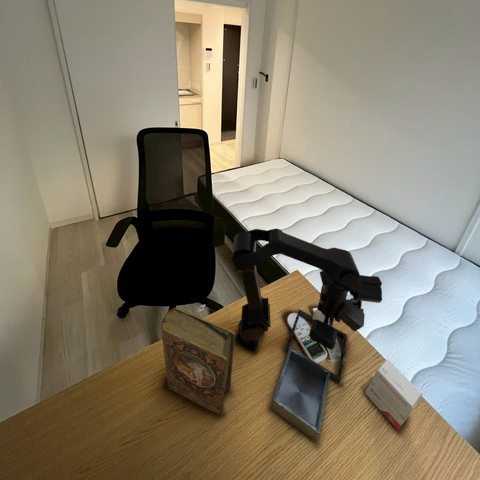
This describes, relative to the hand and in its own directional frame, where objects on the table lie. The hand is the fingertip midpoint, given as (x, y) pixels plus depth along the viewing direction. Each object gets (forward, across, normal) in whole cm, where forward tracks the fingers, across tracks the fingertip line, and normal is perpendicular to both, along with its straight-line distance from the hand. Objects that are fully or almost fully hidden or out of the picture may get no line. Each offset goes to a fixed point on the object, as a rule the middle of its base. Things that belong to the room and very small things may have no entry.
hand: (321, 328), depth 71 cm
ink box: (+9, -5, -19) cm, 22 cm away
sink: (+9, -14, +1) cm, 16 cm away
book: (+9, -26, +25) cm, 38 cm away
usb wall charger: (+1, 0, 0) cm, 1 cm away
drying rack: (+9, 0, 0) cm, 9 cm away
